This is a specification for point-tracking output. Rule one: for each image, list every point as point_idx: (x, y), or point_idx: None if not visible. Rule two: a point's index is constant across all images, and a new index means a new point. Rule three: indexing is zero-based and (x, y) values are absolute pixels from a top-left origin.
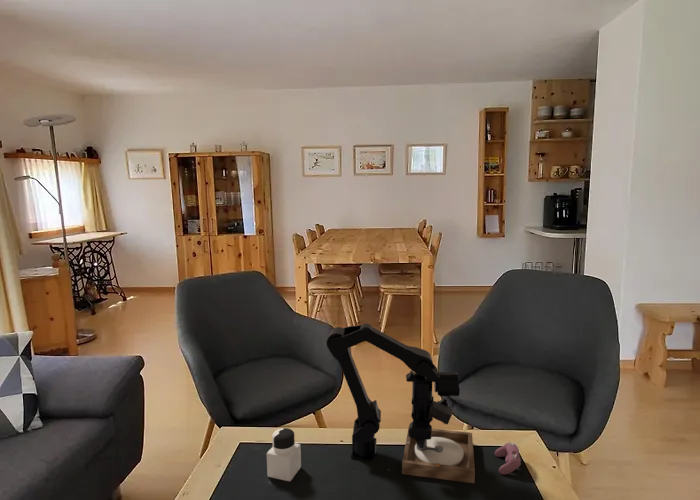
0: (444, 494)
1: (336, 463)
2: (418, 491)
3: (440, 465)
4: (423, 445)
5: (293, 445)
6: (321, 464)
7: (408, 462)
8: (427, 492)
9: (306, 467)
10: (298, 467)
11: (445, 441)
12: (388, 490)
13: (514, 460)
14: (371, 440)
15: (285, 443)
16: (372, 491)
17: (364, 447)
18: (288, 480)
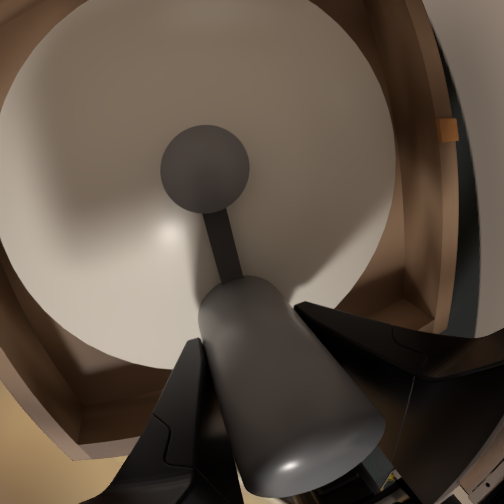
0: (457, 94)
1: (373, 456)
2: (469, 197)
3: (442, 112)
4: (330, 309)
5: (442, 500)
6: (379, 464)
7: (448, 302)
8: (467, 162)
9: (391, 467)
10: None
11: (34, 163)
12: (469, 292)
13: None
14: (368, 486)
15: (458, 500)
16: (469, 326)
17: (366, 470)
18: None
